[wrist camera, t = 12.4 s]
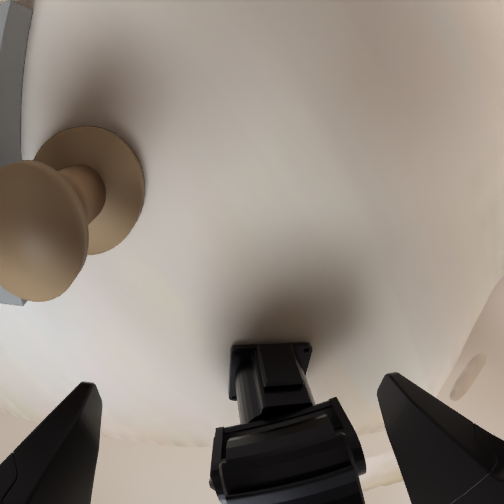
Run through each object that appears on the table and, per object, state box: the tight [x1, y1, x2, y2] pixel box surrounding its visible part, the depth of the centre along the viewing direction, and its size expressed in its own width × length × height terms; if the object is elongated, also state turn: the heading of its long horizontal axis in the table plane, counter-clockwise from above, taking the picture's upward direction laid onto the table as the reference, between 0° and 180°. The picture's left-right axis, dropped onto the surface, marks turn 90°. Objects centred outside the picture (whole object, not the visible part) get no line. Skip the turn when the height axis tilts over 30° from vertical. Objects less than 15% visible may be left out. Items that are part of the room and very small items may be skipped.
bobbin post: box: [0, 126, 145, 302], centre depth 13 cm, size 8×8×8 cm
